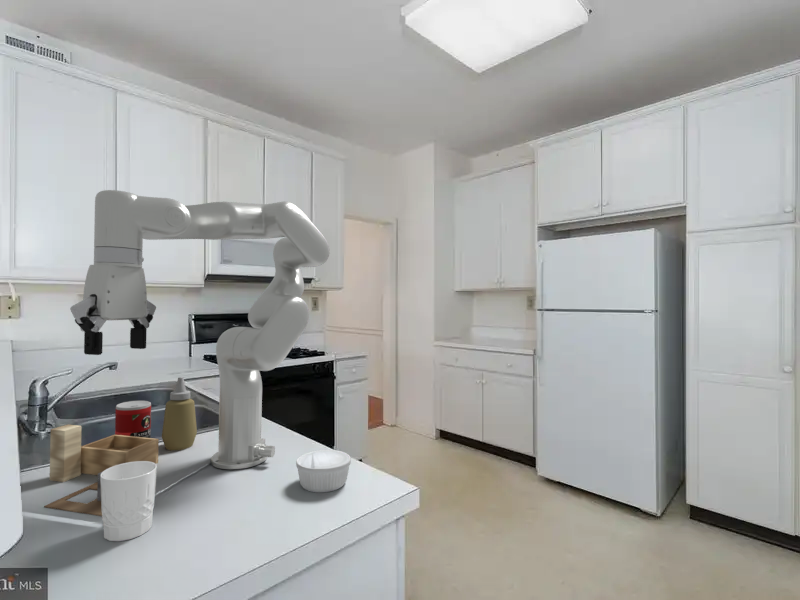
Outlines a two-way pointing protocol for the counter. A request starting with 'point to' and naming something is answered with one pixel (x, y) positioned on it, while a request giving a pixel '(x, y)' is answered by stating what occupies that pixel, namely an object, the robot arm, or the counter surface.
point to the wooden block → (65, 453)
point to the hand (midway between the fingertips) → (116, 351)
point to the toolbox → (117, 452)
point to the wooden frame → (86, 508)
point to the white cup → (128, 499)
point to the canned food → (133, 419)
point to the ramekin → (323, 470)
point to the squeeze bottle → (179, 419)
